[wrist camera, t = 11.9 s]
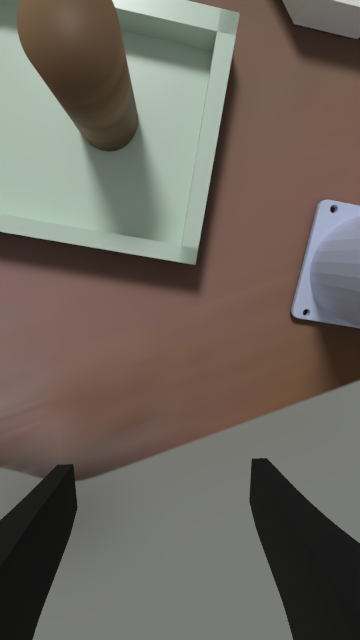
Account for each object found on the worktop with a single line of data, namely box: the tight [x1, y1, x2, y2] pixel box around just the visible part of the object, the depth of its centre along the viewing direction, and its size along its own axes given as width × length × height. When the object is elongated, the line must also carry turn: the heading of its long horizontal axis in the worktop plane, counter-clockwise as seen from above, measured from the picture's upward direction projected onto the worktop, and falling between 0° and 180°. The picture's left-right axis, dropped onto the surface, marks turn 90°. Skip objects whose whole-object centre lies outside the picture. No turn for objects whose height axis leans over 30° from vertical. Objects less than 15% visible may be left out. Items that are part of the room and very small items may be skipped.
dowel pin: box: [17, 0, 138, 151], centre depth 14 cm, size 4×4×7 cm
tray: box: [0, 0, 240, 265], centre depth 17 cm, size 15×13×2 cm
